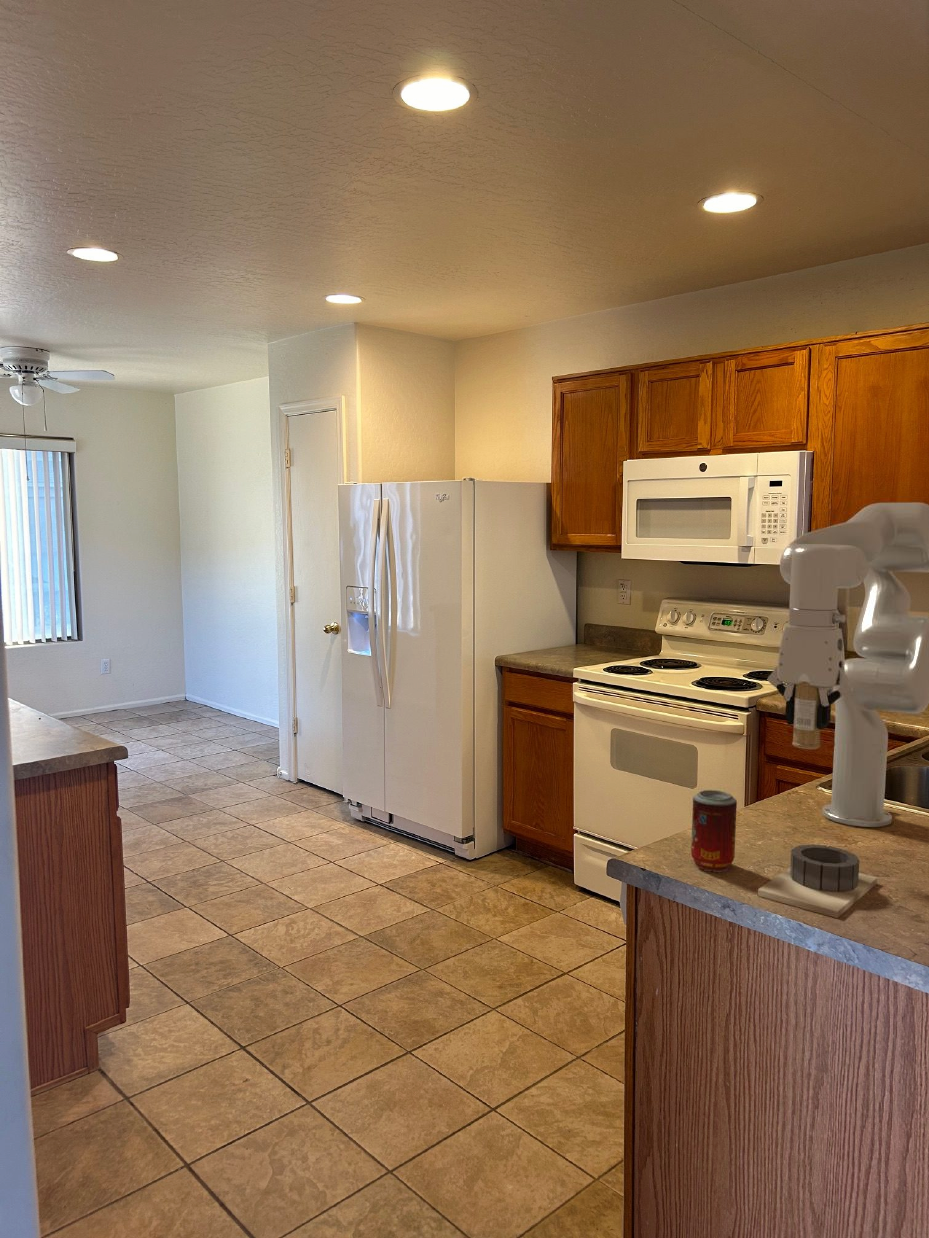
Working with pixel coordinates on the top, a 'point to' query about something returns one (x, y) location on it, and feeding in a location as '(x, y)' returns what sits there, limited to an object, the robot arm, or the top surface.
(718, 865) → the soda can
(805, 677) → the sprinkles bottle
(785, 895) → the collar stand
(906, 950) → the top surface
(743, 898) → the top surface
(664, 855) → the top surface
